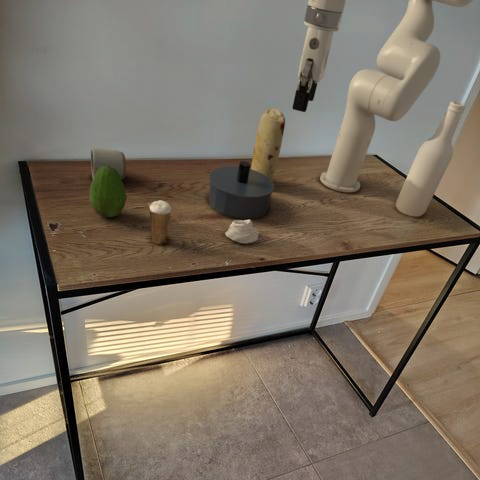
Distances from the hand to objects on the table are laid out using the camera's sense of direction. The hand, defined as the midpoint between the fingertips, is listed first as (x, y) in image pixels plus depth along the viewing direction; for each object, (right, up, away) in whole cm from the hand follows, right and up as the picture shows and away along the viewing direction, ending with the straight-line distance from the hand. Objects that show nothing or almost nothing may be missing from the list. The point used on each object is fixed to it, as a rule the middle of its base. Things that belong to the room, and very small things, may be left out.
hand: (303, 104), depth 103 cm
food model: (-9, -11, +25) cm, 28 cm away
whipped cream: (-15, -31, +1) cm, 35 cm away
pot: (-15, -20, +13) cm, 28 cm away
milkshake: (-33, -33, -6) cm, 47 cm away
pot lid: (-14, -16, +9) cm, 23 cm away
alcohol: (+36, -18, +27) cm, 48 cm away
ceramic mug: (-50, -13, +12) cm, 53 cm away
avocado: (-45, -26, -1) cm, 53 cm away
